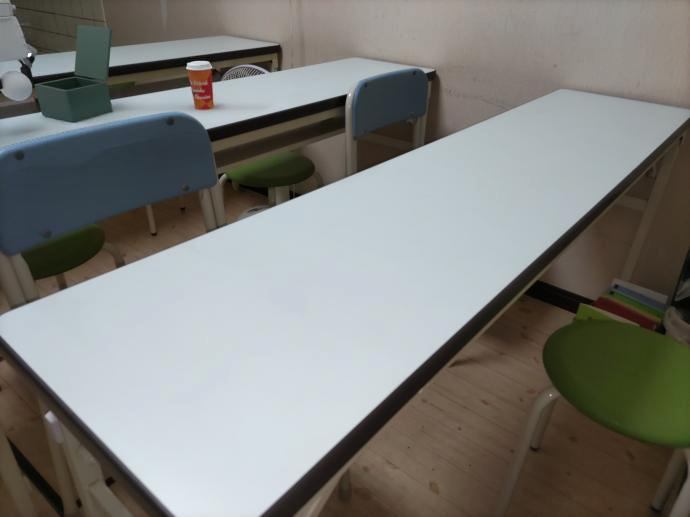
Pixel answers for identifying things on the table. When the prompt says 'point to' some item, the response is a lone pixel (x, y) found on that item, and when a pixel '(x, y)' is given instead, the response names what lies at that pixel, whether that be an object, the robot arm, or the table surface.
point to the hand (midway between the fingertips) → (13, 85)
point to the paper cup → (201, 84)
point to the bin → (73, 99)
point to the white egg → (16, 85)
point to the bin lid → (93, 52)
